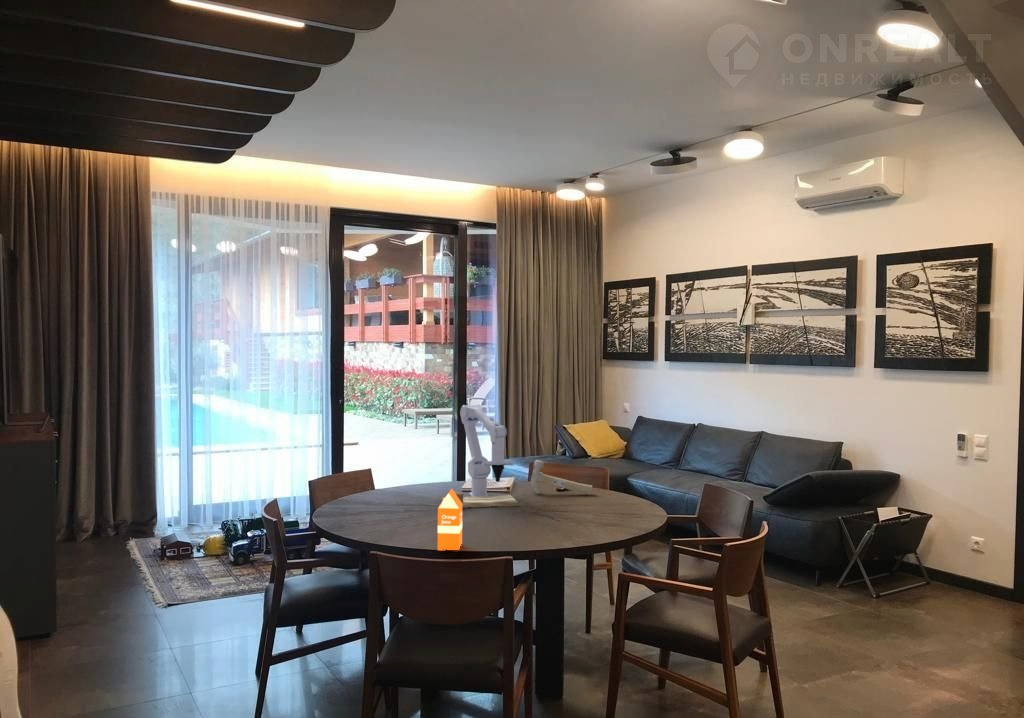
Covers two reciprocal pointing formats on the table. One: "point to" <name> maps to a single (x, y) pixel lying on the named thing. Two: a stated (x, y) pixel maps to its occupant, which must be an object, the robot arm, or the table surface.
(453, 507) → the orange juice
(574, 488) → the hammer
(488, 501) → the board
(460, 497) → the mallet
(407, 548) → the table surface
